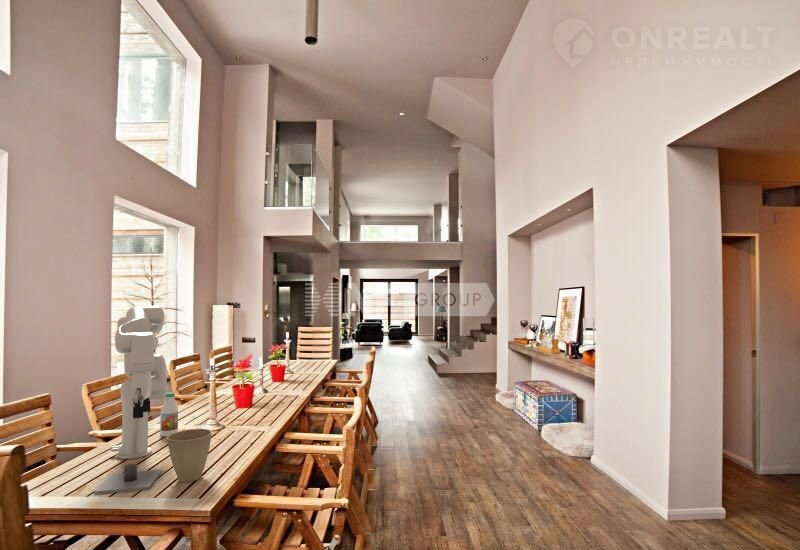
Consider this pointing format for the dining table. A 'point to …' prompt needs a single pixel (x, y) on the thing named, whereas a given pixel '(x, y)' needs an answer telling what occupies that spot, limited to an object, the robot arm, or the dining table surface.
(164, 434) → the milk bottle
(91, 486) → the dining table surface
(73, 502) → the dining table surface
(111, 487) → the lid
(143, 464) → the dining table surface
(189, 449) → the plant pot
